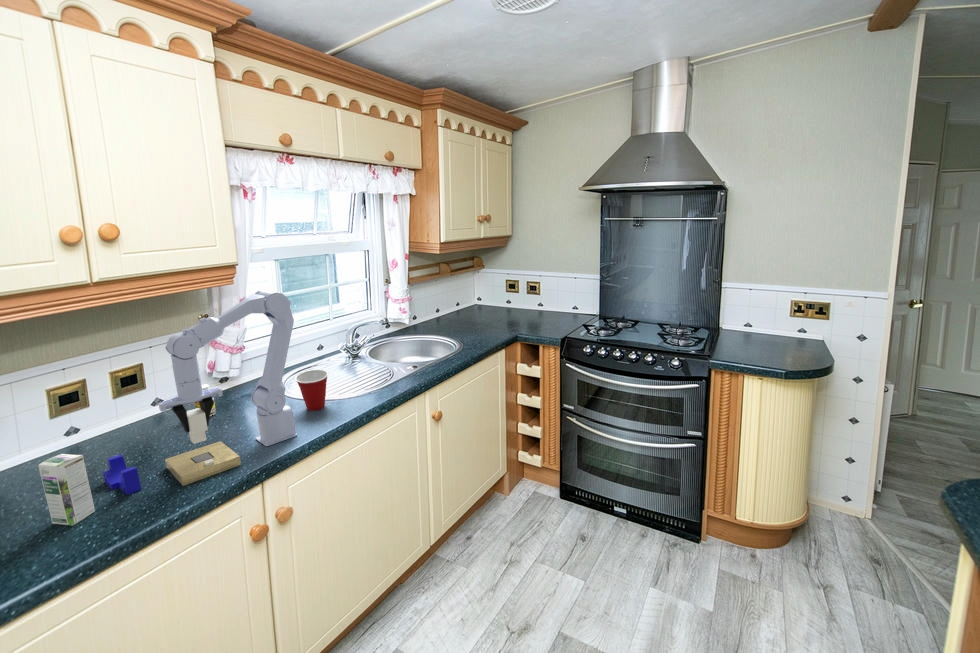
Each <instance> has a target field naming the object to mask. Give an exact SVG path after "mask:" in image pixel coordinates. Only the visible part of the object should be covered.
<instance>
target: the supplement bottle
mask: <svg viewBox="0 0 980 653" xmlns="http://www.w3.org/2000/svg"><path fill="white" fill-rule="evenodd" d="M202 389H203V390H209V389H210V387H209V384H202ZM212 399H213V400H214V401H215V397H213V398H212ZM194 404H195V409H196V408H200V404H199V401H198V402H194ZM215 405H216V403H214V405H213V407H212V409H211V413H210V417H213V416H214V415H215V414H216V413H217V412H216V406H215ZM200 409H201V408H200ZM212 415H213V416H212Z"/></svg>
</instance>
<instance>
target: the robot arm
mask: <svg viewBox="0 0 980 653" xmlns="http://www.w3.org/2000/svg"><path fill="white" fill-rule="evenodd" d="M291 304H292V302H291V301H290V299H289V298H288V297H287V296H286V295H285V294H284V293H282V292H279V291H270V290H267V289H259V290H257V291H256V292H255V293H251V294H249V295H248V296H246V298H244V299H243V300H241V301H239V303H236V304H235V305H234V306H232V307H231V308H229V309H228V310H226V311H224V312H223V313H222V314H220V315H218V316H217V317H212V316H208V317H201V318H200V319H198V320H199V322H198V323H196V324H194V325H192V326H191V327H190V328H184V329H182V331H181V332H182V333H176V334H173V335H172V336H170V337H169V338H168V340H167V341H166V346H164V347H165V350H166V351H167V353H168V354H169V355H170V357H171V365H172V371H173V377H174V382H175V386H176V387H175V388H176V392H177V396H176V397H172V398H170V399H166V400H164V401H159V402H158V404H157V405H158V408H159V411H160V412H161V413H162V412H166V411H167V410H171V411H173V413H174V414H175V416H176V417H177V418H178V419H179V421H180V423H181V425H182V427H183V428H182V429H183V430H184V432H185V433H188V432H190V430H189V425H188V421H187V411H188V409H186V408H185V406H187V405H189V404H193V403H194V404H195V402H198V401H199V404H200V408H201V410H202V411H204V412H205V416H206V422H207V427H209V426H210V422H209V421H210V417H211V416H210V413H211V409H212V407H213V405H214V404H215V399H214V400H213V399H212V398H216V397H223V395H224V394H223V389H222V388H220V387H215V388H209V390H203V389H202V385H203V383H202V378H201V373H200V372H201V371H200V368H199V361H198V357H197V355H198V353H199V352H200V349H202V348H203V347H204V346H207V345H208V344H210V343H212V342H213V341H215V340H216V339H218V338H219V337H221V336H222V335H223V334H224V330H225V328H227V327H229V326H231V325H233V324H234V323H236V322H239V321H240V320H242V319H243V318H245V317H247V316H249V315H251V314H264V315H265V316H266V317H267V318H268V320H269V321H270V322H271V324H272V327H271V328H272V329H271V333H270V334H271V335H270V338H269V342H268V349H267V352H266V358H265V362H264V367H263V371H262V372H263V373H262V376H261V377H260V379H258V381H256V386H255V388H254V389H253V391H252V392H251V396H250V399H251V402H252V404H253V405H255V406H256V418H257V425H258V431H259V435H258V436H255V440H257V441H258V442H259V443H260V444H263V446H265V447H270V446H272V445H274V444H278V443H281V442H283V441H285V440H289V439H291V438H295V437H298V433H297V430H296V423H295V416H294V412H293V409H292V408H291V407H290V406H289V405H288V404H287V405H286V402H287V398H286V387H285V384H284V382H283V376H284V372H285V367H286V362H287V358H288V352H289V349H290V344H291V343H290V342H291V337H292V333H293V328H294V323H295V321H294V316H293V313H292V310H291V309H292V308H291ZM188 434H189V433H188Z"/></svg>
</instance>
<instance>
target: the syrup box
mask: <svg viewBox="0 0 980 653" xmlns="http://www.w3.org/2000/svg"><path fill="white" fill-rule="evenodd" d="M37 465H38V466H37V467H38V471H39V475H40V478H41V482H42V487H43V489H44V490H43V491H44V495H45V499H46V503H47V507H48V511H49V515H50V520H51V523H52V525H63V526H72V527H73V526H74V525H76V524H78V523H79V522H81V521H83V520H84V519H86V518H88V517H89V516H90V515H92V514H93V513H95V512H96V509H95V505H94V499H93V495H92V491H91V487H90V483H89V478H88V472H87V470H86V464H85V460H84V455H83V454H67V453H61V454H58V455H55V456H52V457H50V458H48V459H46V460H44V461H42V462H41V463H39V464H37Z"/></svg>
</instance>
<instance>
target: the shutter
mask: <svg viewBox="0 0 980 653" xmlns="http://www.w3.org/2000/svg"><path fill="white" fill-rule="evenodd" d="M211 458H213V457H212V456H211V455H210V454H209V453H205V454H203V455H200V456H197V457H194V458H192V461H193V462H195V463H199V462H202V461H205V460H208V459H211Z"/></svg>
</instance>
